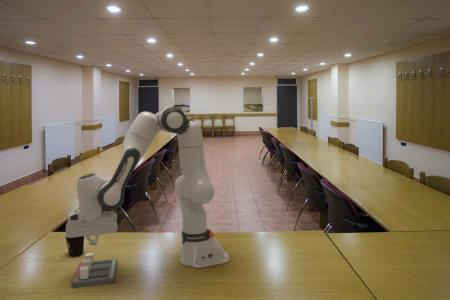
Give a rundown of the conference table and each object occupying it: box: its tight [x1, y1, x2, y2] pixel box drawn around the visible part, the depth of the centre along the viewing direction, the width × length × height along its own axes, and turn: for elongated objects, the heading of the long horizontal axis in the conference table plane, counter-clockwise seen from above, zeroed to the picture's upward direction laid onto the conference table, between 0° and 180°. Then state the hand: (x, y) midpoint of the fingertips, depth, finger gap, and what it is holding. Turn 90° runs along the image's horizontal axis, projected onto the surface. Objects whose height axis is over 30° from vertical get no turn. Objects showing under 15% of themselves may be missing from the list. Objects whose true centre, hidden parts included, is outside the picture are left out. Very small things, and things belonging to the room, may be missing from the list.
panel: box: [71, 258, 118, 289], centre depth 155 cm, size 16×20×2 cm
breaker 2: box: [84, 252, 95, 264], centre depth 160 cm, size 3×3×4 cm
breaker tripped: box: [81, 259, 91, 271], centre depth 154 cm, size 3×3×4 cm
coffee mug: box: [64, 234, 85, 258], centre depth 175 cm, size 12×9×10 cm
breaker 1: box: [80, 266, 89, 279], centre depth 147 cm, size 3×3×4 cm
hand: (93, 244), depth 153 cm, fingers closed
